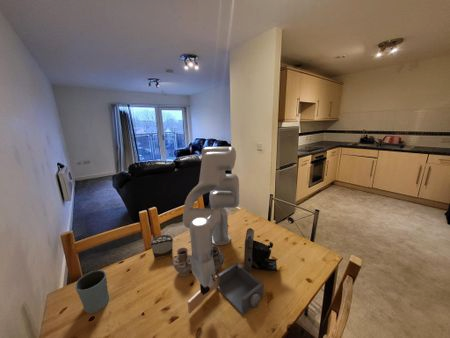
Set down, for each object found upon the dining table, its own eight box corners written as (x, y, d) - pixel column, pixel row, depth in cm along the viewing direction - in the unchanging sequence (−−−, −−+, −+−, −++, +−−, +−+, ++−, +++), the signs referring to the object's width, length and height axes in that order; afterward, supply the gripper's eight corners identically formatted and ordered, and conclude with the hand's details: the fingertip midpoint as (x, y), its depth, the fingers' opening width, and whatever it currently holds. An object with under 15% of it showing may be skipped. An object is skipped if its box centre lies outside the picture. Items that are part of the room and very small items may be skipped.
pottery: (175, 265, 98) (172, 245, 95) (223, 259, 102) (222, 239, 99) (172, 283, 87) (170, 260, 85) (226, 275, 91) (226, 253, 88)
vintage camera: (276, 280, 88) (280, 242, 83) (243, 274, 91) (244, 237, 86) (275, 265, 97) (278, 230, 93) (245, 260, 100) (246, 226, 96)
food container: (174, 247, 112) (172, 232, 110) (175, 254, 106) (173, 238, 104) (152, 252, 108) (150, 236, 106) (151, 259, 103) (149, 243, 100)
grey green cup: (106, 311, 75) (101, 286, 72) (76, 319, 72) (69, 293, 69) (113, 290, 84) (108, 267, 81) (87, 296, 82) (81, 272, 79)
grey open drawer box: (216, 288, 84) (216, 274, 82) (237, 273, 92) (237, 260, 90) (245, 319, 70) (245, 303, 69) (267, 299, 78) (267, 285, 76)
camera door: (214, 283, 85) (214, 274, 83) (217, 286, 84) (217, 276, 82) (186, 310, 73) (185, 299, 72) (190, 313, 72) (189, 302, 71)
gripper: (183, 245, 72) (187, 284, 77) (205, 268, 61) (208, 312, 66) (200, 237, 77) (202, 274, 82) (223, 257, 65) (225, 299, 70)
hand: (205, 291), depth 74 cm, fingers closed
